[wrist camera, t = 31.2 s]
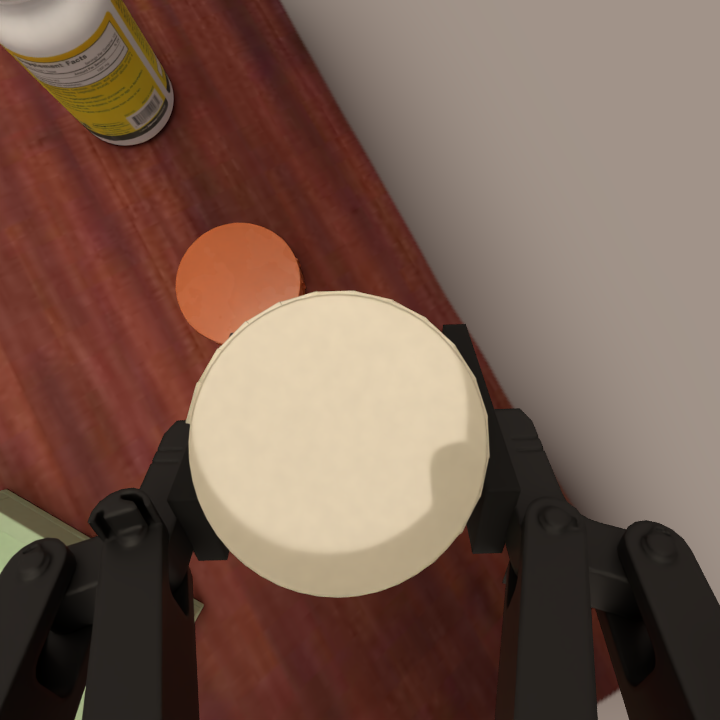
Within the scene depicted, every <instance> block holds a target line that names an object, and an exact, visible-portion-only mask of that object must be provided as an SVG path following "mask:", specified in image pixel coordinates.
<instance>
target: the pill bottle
mask: <svg viewBox="0 0 720 720" xmlns="http://www.w3.org/2000/svg"><path fill="white" fill-rule="evenodd" d="M0 44H1V45H2V46H3V47H4V48H5V49H6V50H7V51H8V52H9V53H10V54H11V55H12V56H13V57H14V58H15V59H16V60H17V61H18V62H19V63H20V64H21V65H22V66H23V67H24V68H25V69H26V70H27V71H28V72H29V73H30V74H31V75H32V76H33V77H34V78H35V79H36V80H37V81H38V82H39V83H40V84H41V85H42V86H43V87H44V88H46V89H47V90H48V91H49V92H50V93H51V94H52V95H53V96H54V97H55V98H56V99H57V100H58V101H59V102H60V103H61V104H62V105H63V106H64V107H65V108H66V109H67V110H68V111H69V112H70V113H71V114H72V115H73V116H74V117H75V118H76V119H77V120H78V121H79V122H80V123H81V124H82V125H83V126H84V127H86V128H87V129H88V130H89V131H90V132H91V133H92V134H93V135H95V136H96V137H98V138H99V139H101V140H103V141H106V142H108V143H112V144H116V145H135V144H139V143H143V142H145V141H147V140H149V139H151V138H152V137H154V136H155V135H156V134H157V133H159V132H160V131H161V130H162V128H163V127H164V126H165V124H166V123H167V121H168V119H169V117H170V115H171V112H172V109H173V102H174V95H173V89H172V85H171V82H170V80H169V78H168V76H167V74H166V72H165V70H164V69H163V67H162V65H161V64H160V62H159V60H158V59H157V57H156V55H155V54H154V52H153V51H152V49H151V47H150V46H149V44H148V42H147V41H146V39H145V37H144V36H143V34H142V33H141V31H140V29H139V28H138V26H137V24H136V23H135V21H134V19H133V18H132V16H131V14H130V13H129V11H128V9H127V8H126V6H125V4H124V3H123V1H122V0H0Z"/></svg>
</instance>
